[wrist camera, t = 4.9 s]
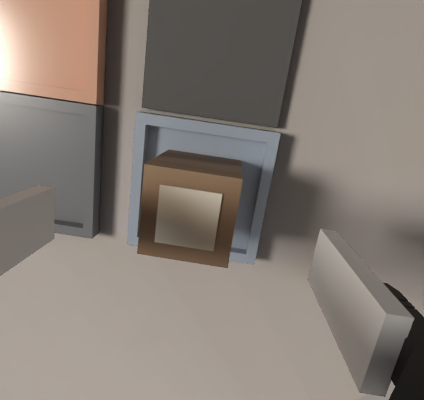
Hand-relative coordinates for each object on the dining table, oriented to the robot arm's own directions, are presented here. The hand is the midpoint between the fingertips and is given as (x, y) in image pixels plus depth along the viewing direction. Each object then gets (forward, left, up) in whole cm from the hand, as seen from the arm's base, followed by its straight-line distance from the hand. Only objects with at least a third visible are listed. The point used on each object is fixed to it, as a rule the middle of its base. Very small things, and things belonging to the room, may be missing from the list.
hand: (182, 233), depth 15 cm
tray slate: (0, 0, -8) cm, 8 cm away
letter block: (0, 0, -7) cm, 7 cm away
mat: (-10, 0, -8) cm, 12 cm away
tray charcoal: (0, -12, -8) cm, 14 cm away
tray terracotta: (-10, -12, -8) cm, 17 cm away
